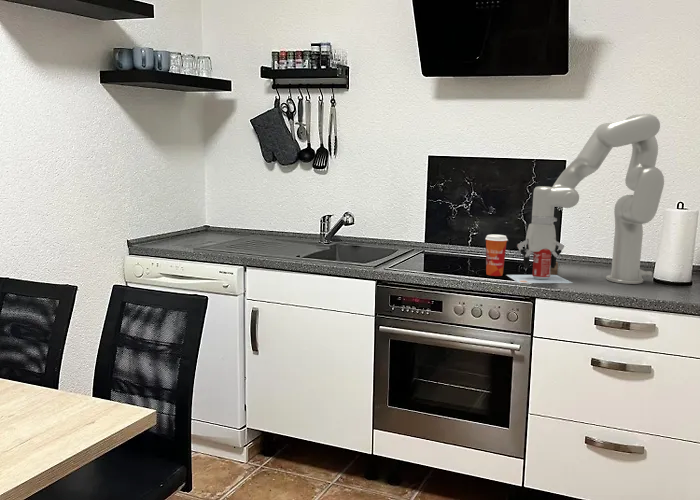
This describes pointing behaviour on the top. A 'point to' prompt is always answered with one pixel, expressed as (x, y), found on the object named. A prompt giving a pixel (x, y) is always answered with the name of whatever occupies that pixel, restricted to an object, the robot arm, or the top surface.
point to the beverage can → (542, 264)
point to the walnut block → (554, 270)
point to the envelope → (532, 280)
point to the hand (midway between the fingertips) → (539, 267)
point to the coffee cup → (495, 254)
